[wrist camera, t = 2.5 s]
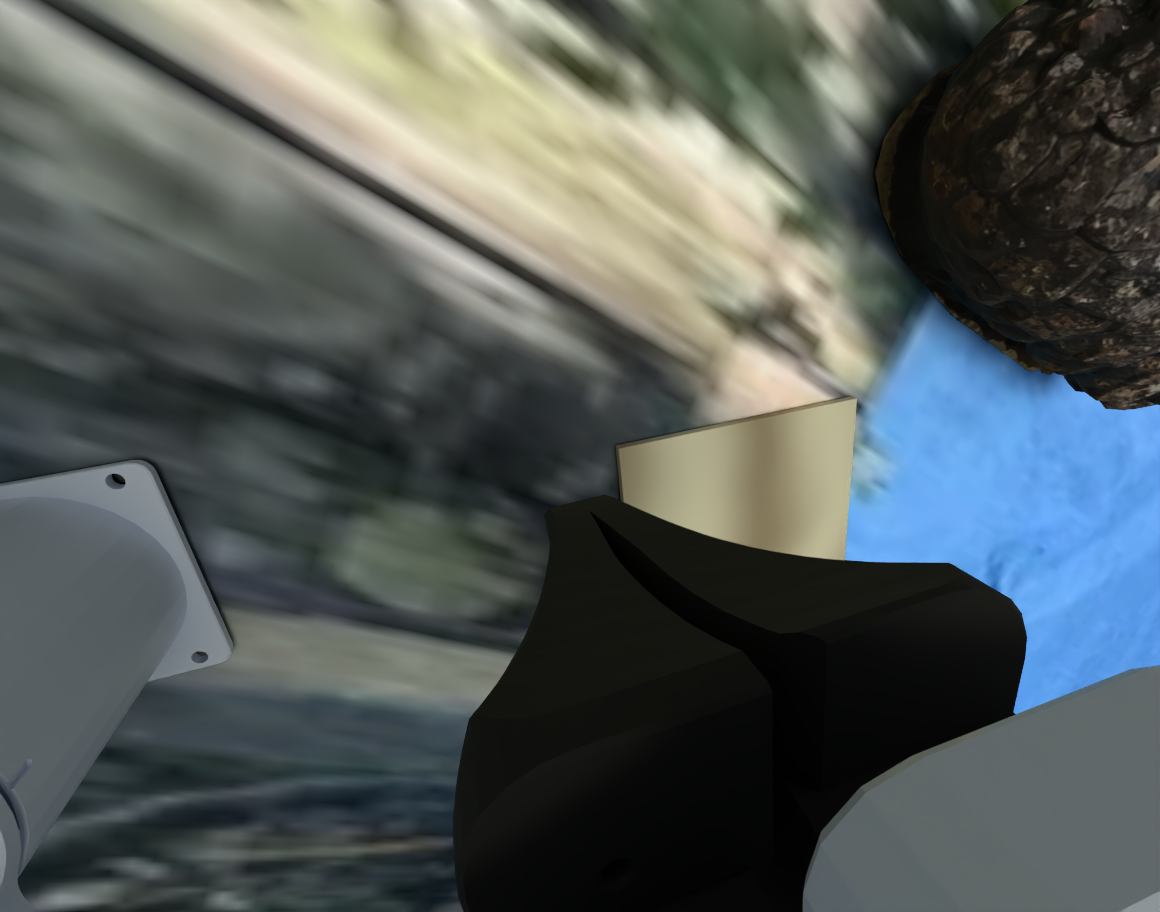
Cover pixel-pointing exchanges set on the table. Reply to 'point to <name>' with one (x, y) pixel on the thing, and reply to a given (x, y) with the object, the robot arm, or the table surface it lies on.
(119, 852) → the table surface
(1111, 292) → the pine cone
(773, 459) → the board
